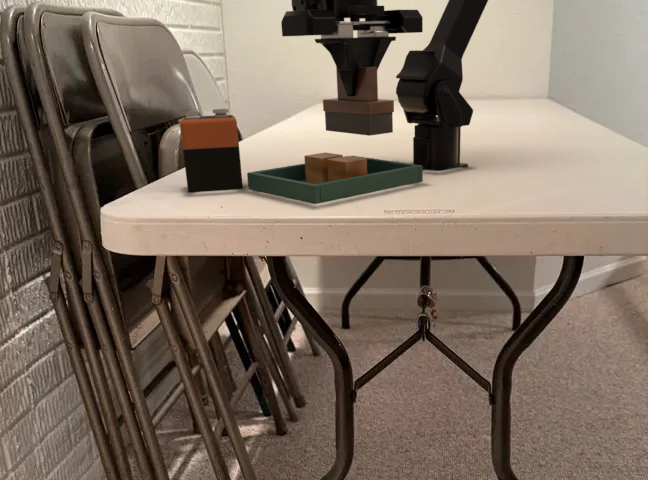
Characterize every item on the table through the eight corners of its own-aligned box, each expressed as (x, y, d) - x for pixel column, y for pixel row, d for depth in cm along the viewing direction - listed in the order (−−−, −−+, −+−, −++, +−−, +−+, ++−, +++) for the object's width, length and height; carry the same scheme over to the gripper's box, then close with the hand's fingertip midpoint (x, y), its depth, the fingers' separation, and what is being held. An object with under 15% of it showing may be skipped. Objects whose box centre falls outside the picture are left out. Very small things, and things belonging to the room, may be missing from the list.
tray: (353, 173, 102) (352, 155, 101) (422, 185, 92) (422, 165, 91) (248, 192, 91) (246, 172, 90) (315, 208, 81) (314, 185, 80)
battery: (243, 192, 91) (235, 110, 87) (188, 196, 89) (178, 112, 86) (241, 186, 95) (234, 107, 91) (188, 189, 93) (179, 109, 90)
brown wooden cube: (326, 179, 95) (325, 152, 94) (343, 182, 93) (342, 154, 91) (305, 183, 93) (304, 155, 92) (322, 186, 90) (321, 158, 89)
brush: (348, 127, 99) (345, 65, 96) (394, 132, 92) (393, 66, 89) (324, 130, 96) (320, 67, 93) (370, 136, 90) (367, 68, 87)
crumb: (349, 183, 92) (348, 155, 91) (367, 186, 89) (367, 158, 88) (328, 187, 90) (327, 159, 88) (346, 191, 87) (345, 161, 86)
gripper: (367, -31, 98) (371, 89, 104) (251, -36, 87) (262, 98, 93) (425, -39, 90) (425, 91, 96) (305, -46, 79) (313, 102, 85)
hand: (357, 95), depth 93 cm, fingers closed on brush, 2 cm apart
